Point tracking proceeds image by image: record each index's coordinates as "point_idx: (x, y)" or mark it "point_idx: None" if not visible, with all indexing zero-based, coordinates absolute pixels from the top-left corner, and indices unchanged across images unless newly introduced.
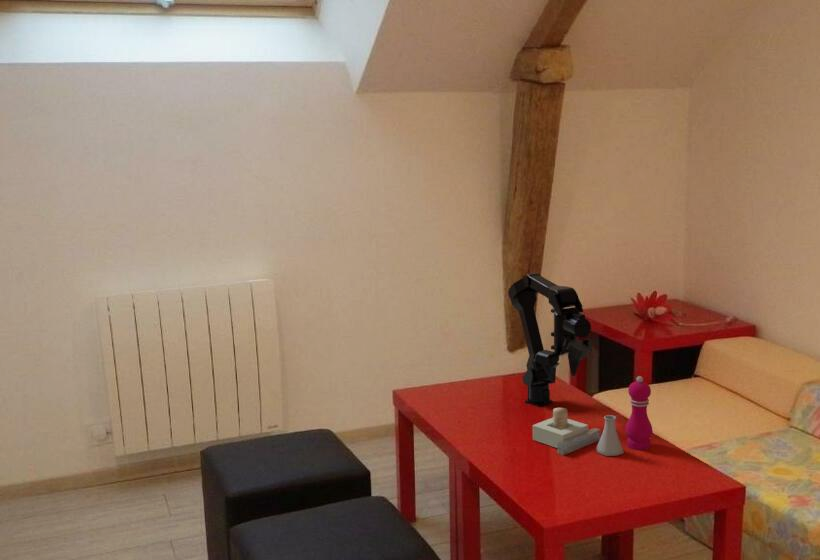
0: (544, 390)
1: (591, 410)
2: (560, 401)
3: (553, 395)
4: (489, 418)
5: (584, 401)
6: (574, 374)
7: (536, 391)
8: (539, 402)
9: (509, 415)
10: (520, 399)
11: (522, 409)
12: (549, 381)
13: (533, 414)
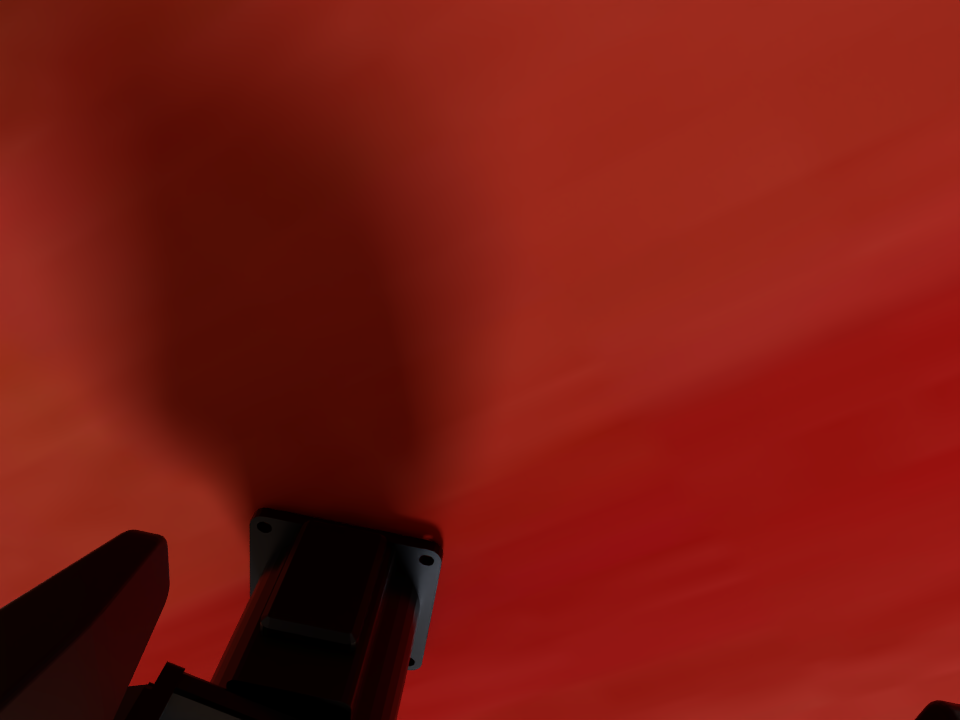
0: (329, 647)
1: (163, 60)
2: (192, 457)
3: None
4: None
5: (6, 275)
6: (137, 570)
7: (387, 688)
8: (397, 573)
9: (779, 638)
10: None
11: (582, 614)
12: (188, 707)
13: (656, 506)
